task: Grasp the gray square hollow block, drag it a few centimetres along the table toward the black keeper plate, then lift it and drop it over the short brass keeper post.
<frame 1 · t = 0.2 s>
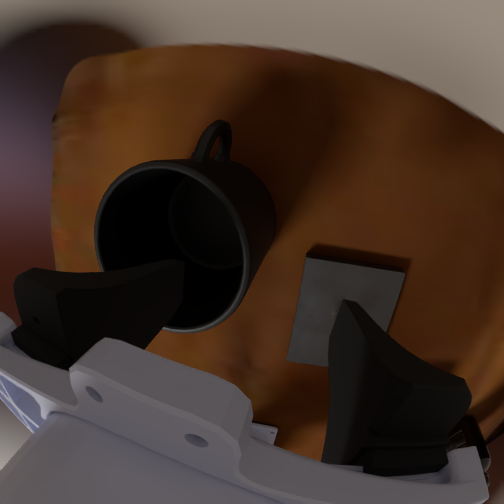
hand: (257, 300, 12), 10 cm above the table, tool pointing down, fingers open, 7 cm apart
supplement bottle: (455, 428, 24), on the table
mug: (222, 202, 22), on the table
keeper: (342, 315, 22), on the table
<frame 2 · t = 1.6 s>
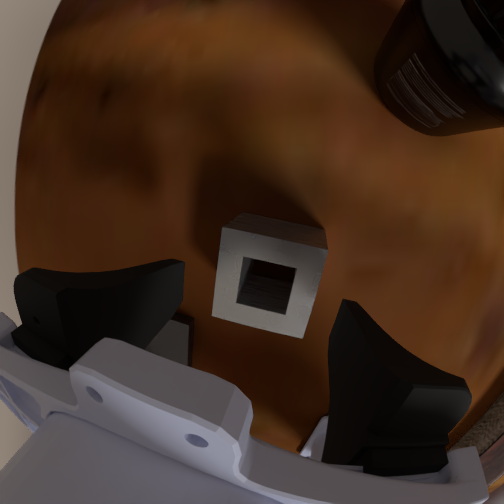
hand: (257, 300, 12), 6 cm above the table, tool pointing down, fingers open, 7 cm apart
hardback book: (492, 437, 19), on the table
supplement bottle: (422, 84, 12), on the table
keeper: (140, 338, 22), on the table
gray square hollow block: (276, 259, 17), on the table
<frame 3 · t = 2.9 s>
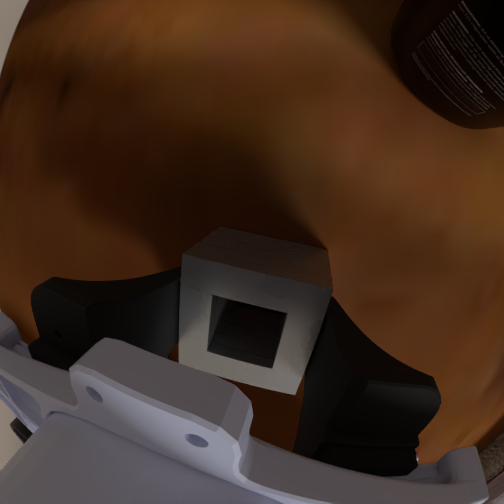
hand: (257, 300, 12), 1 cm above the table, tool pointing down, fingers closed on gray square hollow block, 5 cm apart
hardback book: (500, 456, 15), on the table
supplement bottle: (450, 63, 8), on the table
gray square hollow block: (263, 287, 13), on the table, touching gripper
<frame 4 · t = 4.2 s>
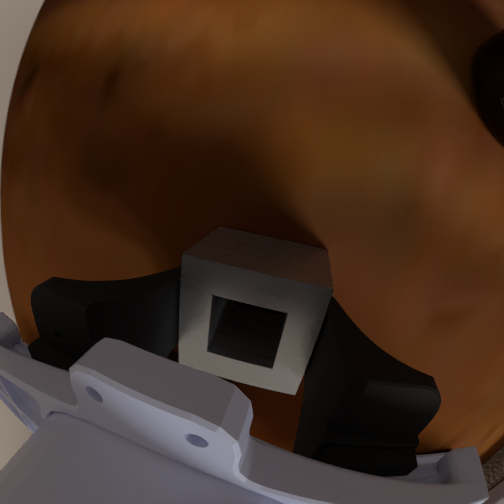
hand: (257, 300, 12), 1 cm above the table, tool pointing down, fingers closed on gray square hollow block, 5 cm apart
gray square hollow block: (263, 287, 13), on the table, touching gripper
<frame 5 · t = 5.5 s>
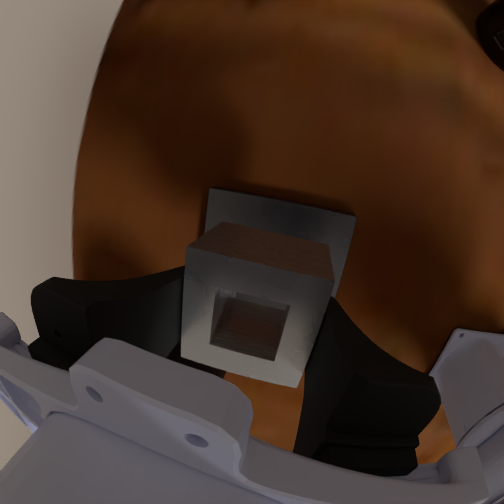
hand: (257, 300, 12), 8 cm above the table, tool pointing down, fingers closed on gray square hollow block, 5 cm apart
supplement bottle: (501, 45, 10), on the table
mug: (171, 340, 25), on the table
keeper: (273, 253, 20), on the table
gray square hollow block: (264, 281, 13), point 7 cm above the table, touching gripper
when the fingers open (4 cm above the table, at t = 7.6 s): gray square hollow block drops 1 cm, resting on keeper.
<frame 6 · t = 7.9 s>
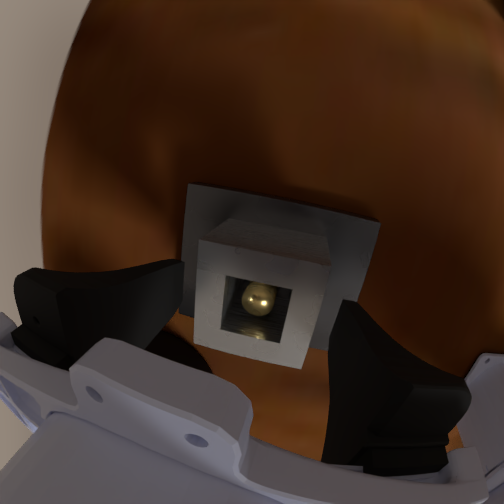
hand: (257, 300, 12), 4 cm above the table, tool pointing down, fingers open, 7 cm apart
mug: (152, 363, 21), on the table
keeper: (271, 268, 16), on the table
gray square hollow block: (269, 273, 15), point 1 cm above the table, touching keeper
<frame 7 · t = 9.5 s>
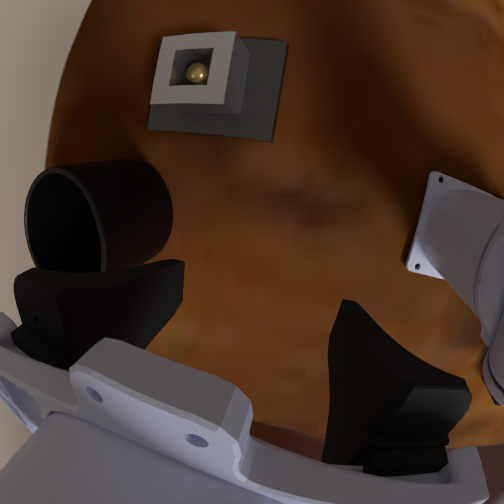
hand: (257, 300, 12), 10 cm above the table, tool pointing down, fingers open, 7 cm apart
mug: (121, 205, 24), on the table
keeper: (216, 86, 18), on the table
gray square hollow block: (212, 81, 17), point 1 cm above the table, touching keeper
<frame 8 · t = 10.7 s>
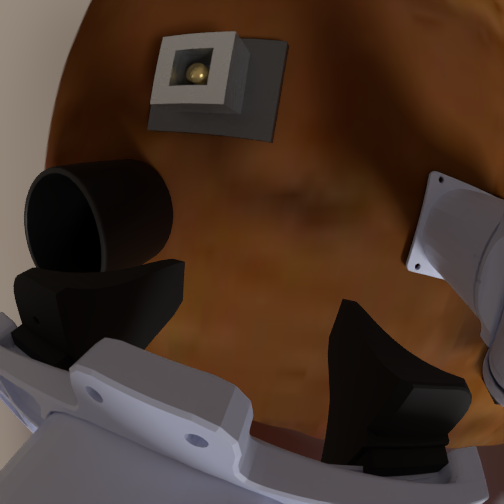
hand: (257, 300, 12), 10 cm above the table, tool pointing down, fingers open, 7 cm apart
mug: (121, 205, 24), on the table
keeper: (216, 86, 18), on the table
gray square hollow block: (212, 81, 17), point 1 cm above the table, touching keeper
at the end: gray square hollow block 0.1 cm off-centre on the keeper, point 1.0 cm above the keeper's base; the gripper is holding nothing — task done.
